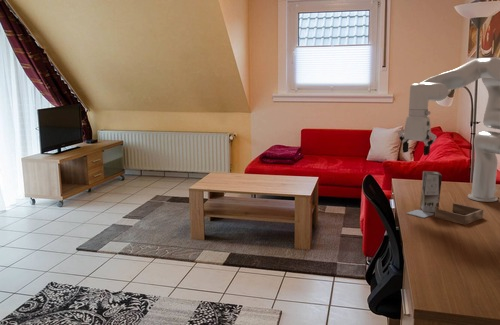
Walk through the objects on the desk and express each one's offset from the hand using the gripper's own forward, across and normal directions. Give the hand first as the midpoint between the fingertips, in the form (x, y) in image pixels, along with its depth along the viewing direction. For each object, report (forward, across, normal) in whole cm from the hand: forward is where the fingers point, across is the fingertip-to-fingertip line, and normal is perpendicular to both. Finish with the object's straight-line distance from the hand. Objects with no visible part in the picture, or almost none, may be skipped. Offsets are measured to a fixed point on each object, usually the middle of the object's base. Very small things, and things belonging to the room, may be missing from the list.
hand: (415, 153), depth 207 cm
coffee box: (+24, -7, -2) cm, 25 cm away
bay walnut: (+24, -20, -1) cm, 31 cm away
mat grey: (+24, -7, +6) cm, 26 cm away
